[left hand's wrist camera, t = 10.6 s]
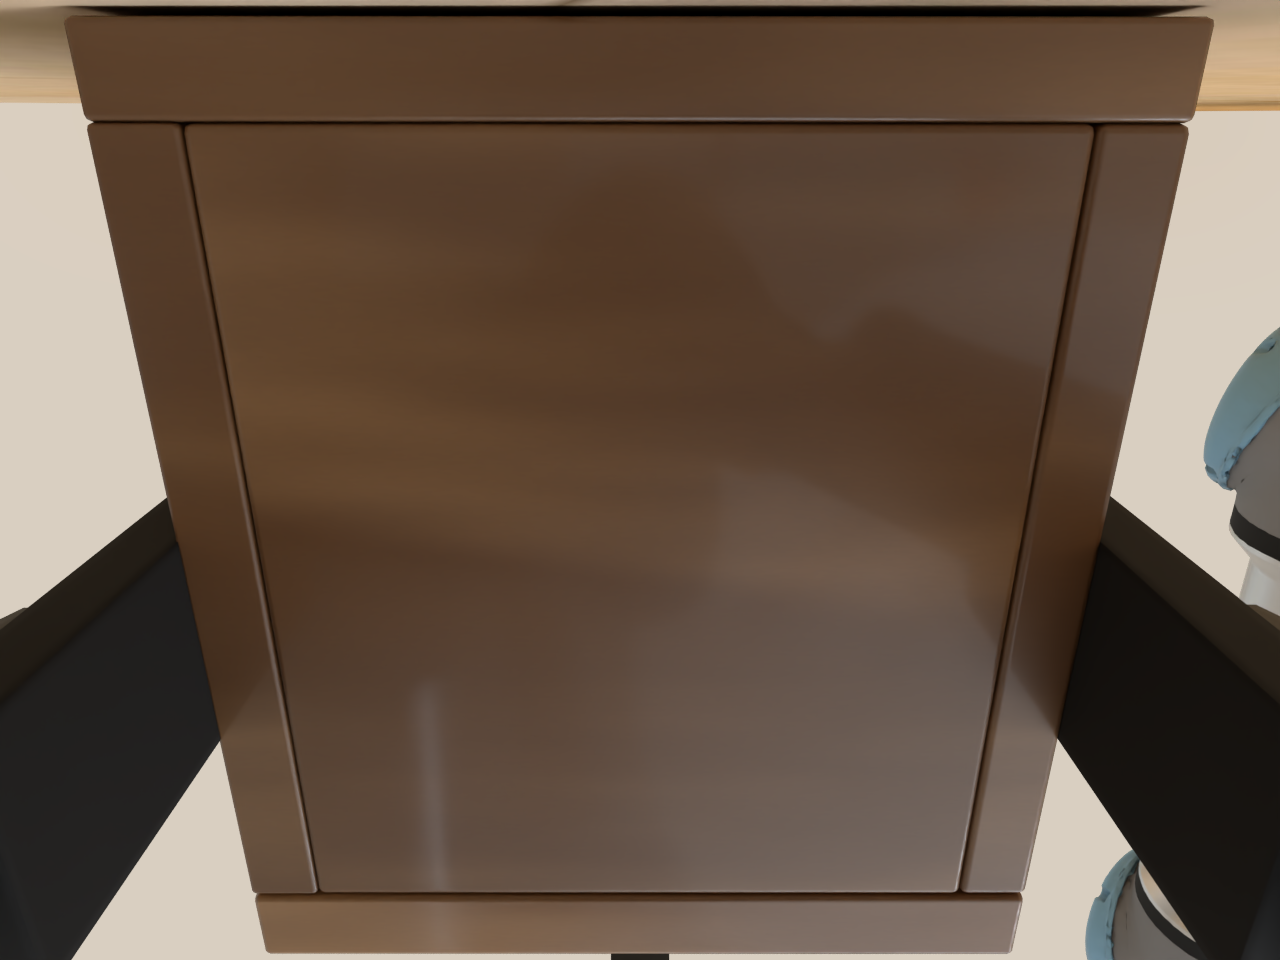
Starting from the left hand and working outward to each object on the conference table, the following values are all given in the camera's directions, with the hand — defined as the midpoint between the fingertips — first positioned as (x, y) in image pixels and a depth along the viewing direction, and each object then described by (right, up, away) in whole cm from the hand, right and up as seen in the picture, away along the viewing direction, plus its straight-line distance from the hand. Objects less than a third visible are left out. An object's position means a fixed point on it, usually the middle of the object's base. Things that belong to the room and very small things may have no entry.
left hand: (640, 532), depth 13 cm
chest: (0, +8, +1) cm, 8 cm away
